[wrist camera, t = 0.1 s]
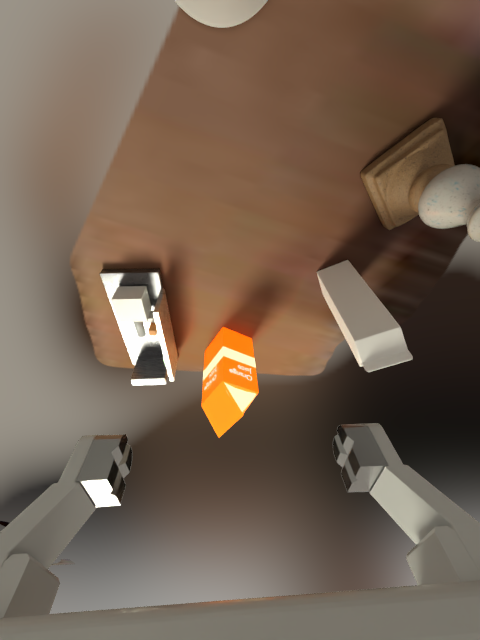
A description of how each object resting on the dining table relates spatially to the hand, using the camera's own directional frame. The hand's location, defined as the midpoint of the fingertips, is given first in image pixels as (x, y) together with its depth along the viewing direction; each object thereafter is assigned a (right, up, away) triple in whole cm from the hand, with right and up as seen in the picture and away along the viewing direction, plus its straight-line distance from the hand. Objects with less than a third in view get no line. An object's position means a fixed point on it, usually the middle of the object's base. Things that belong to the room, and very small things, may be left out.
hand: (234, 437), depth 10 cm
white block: (-19, +7, +41) cm, 46 cm away
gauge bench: (-19, +5, +45) cm, 49 cm away
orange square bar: (-16, +5, +43) cm, 46 cm away
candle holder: (+26, +26, +31) cm, 48 cm away
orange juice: (-3, -1, +52) cm, 52 cm away
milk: (+18, +13, +42) cm, 47 cm away
